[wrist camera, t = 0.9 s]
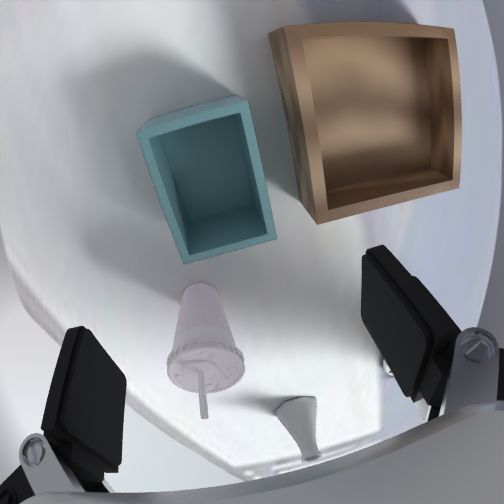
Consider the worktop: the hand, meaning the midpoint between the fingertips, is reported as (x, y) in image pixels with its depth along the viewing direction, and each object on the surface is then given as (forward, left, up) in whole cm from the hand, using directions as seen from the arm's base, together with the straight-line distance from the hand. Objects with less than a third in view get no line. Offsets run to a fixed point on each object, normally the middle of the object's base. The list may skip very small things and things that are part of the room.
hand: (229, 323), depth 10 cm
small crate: (0, 0, -18) cm, 18 cm away
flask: (-41, -3, -18) cm, 45 cm away
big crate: (+2, -15, -18) cm, 23 cm away
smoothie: (-13, +4, -18) cm, 23 cm away
